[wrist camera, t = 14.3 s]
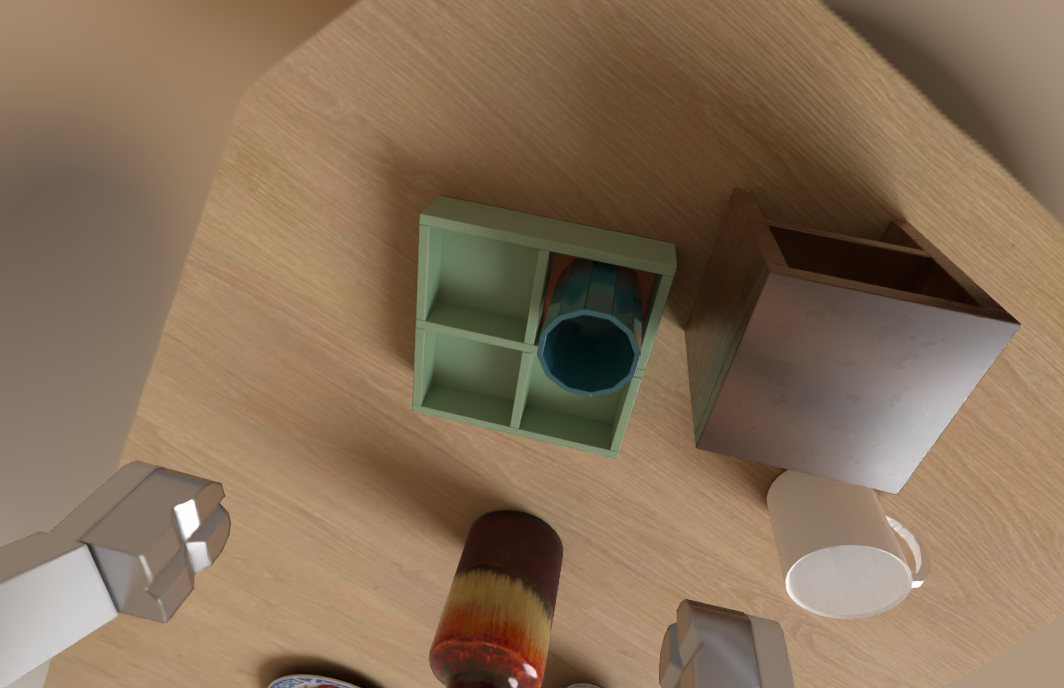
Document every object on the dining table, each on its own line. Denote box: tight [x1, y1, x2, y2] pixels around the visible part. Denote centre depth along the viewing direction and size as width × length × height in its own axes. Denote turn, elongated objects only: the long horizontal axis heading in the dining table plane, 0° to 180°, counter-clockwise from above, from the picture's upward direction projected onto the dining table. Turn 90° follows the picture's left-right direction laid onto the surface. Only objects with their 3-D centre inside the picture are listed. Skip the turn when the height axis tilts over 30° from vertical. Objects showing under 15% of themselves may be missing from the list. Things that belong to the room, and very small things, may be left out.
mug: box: [767, 470, 930, 619], centre depth 48 cm, size 12×9×9 cm
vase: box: [429, 511, 563, 688], centre depth 55 cm, size 11×11×20 cm
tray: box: [412, 195, 677, 459], centre depth 46 cm, size 18×18×4 cm
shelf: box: [685, 189, 1021, 494], centre depth 36 cm, size 12×12×14 cm
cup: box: [537, 258, 643, 397], centre depth 41 cm, size 7×7×9 cm
